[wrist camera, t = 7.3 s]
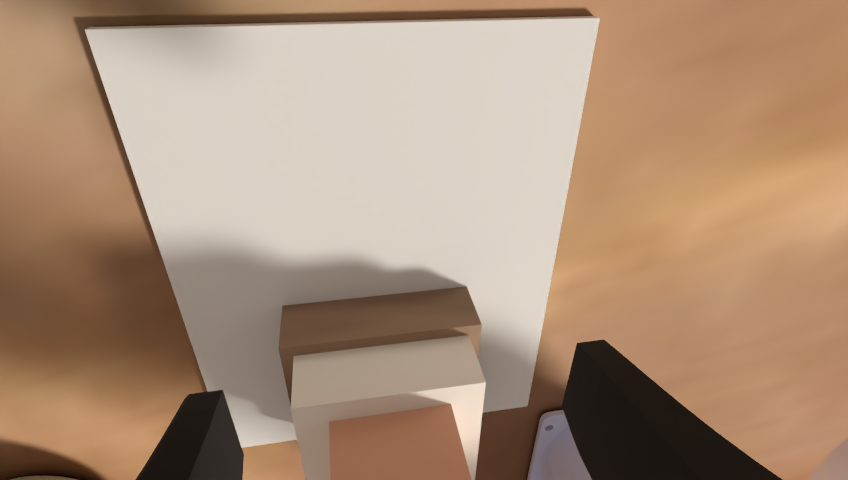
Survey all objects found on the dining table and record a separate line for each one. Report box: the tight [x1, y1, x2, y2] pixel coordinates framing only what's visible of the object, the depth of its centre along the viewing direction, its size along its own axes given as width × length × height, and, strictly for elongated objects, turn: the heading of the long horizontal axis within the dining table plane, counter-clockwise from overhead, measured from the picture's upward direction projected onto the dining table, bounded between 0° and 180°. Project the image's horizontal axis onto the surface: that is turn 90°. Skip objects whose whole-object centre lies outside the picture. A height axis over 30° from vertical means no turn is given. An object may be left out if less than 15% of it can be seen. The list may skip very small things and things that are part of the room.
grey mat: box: [85, 16, 600, 448], centre depth 21 cm, size 20×16×1 cm
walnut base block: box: [278, 286, 482, 406], centre depth 23 cm, size 8×8×2 cm
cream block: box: [291, 335, 486, 480], centre depth 21 cm, size 7×7×2 cm
